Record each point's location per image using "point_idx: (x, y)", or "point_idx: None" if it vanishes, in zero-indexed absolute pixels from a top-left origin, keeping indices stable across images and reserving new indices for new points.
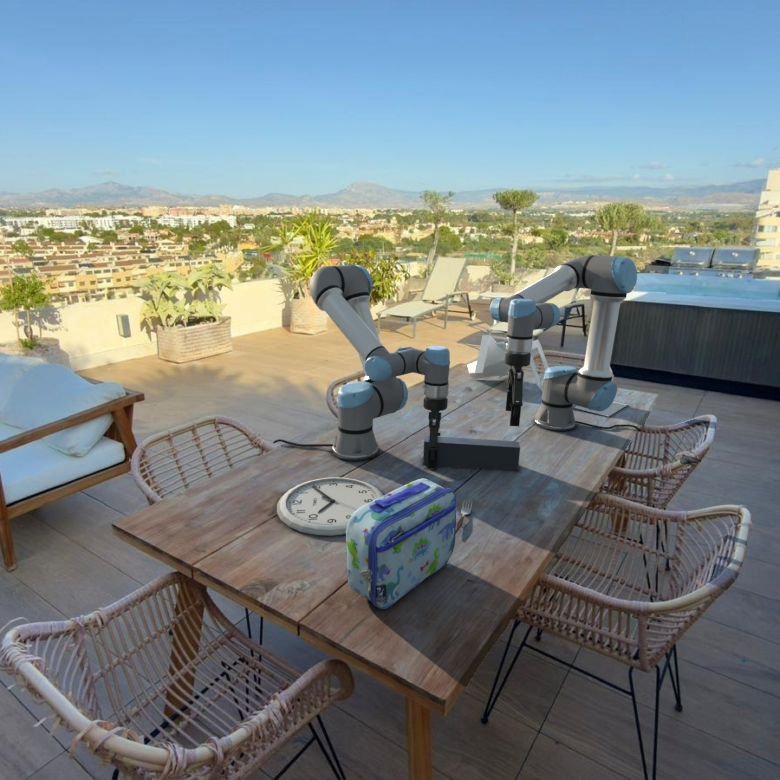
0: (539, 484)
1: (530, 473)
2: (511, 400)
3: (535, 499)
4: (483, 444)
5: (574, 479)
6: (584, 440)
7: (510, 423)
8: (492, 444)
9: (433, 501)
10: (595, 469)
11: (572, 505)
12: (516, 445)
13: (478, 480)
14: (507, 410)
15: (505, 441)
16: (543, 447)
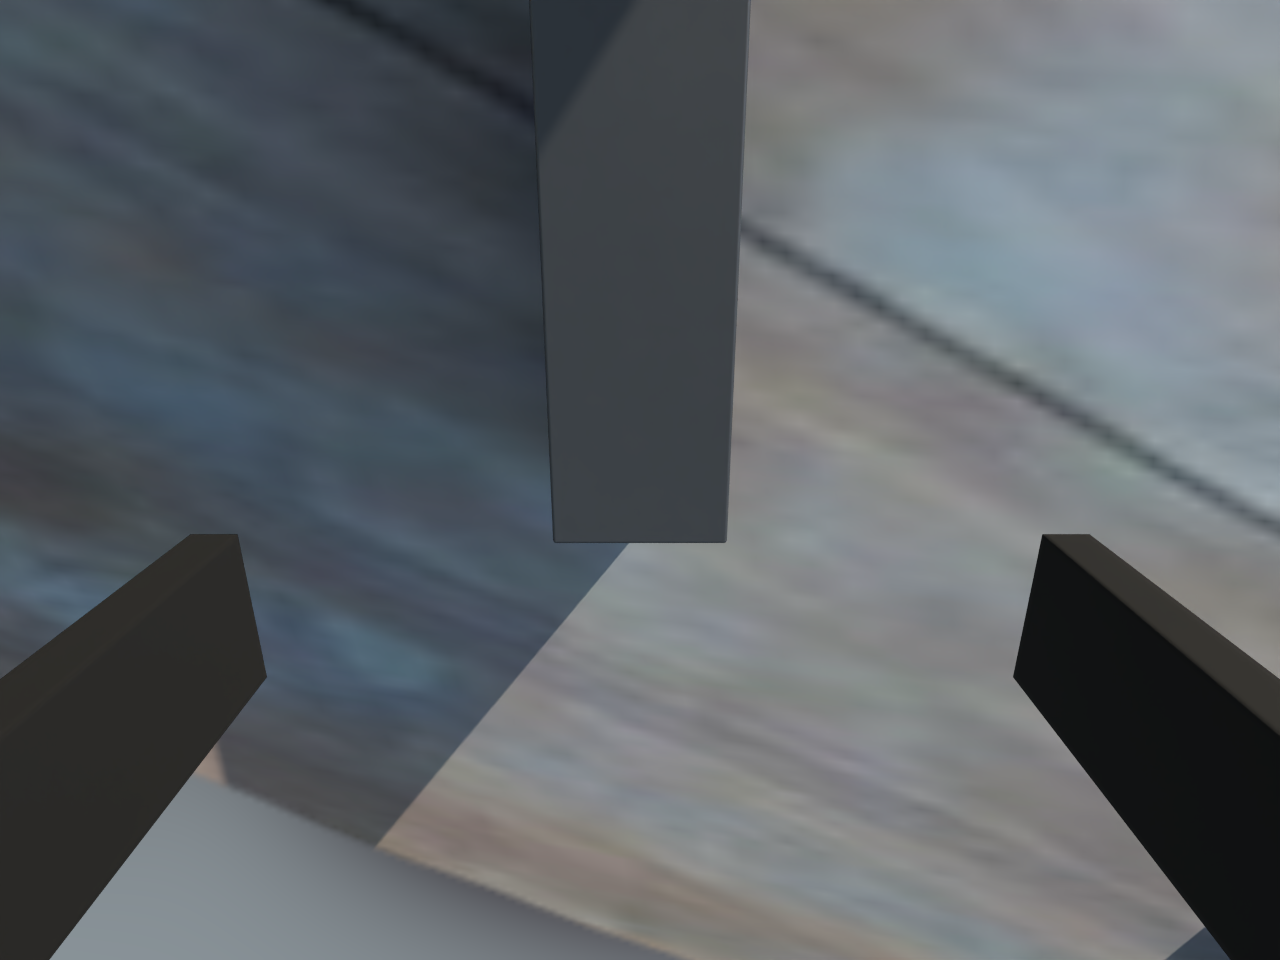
0: (379, 578)
1: (550, 541)
2: (1164, 771)
3: (134, 522)
4: (565, 109)
5: (516, 794)
6: (1165, 953)
7: (159, 562)
8: (587, 235)
9: None
10: (690, 923)
11: None
12: (605, 512)
13: (307, 87)
14: (1042, 568)
15: (707, 404)
16: None
